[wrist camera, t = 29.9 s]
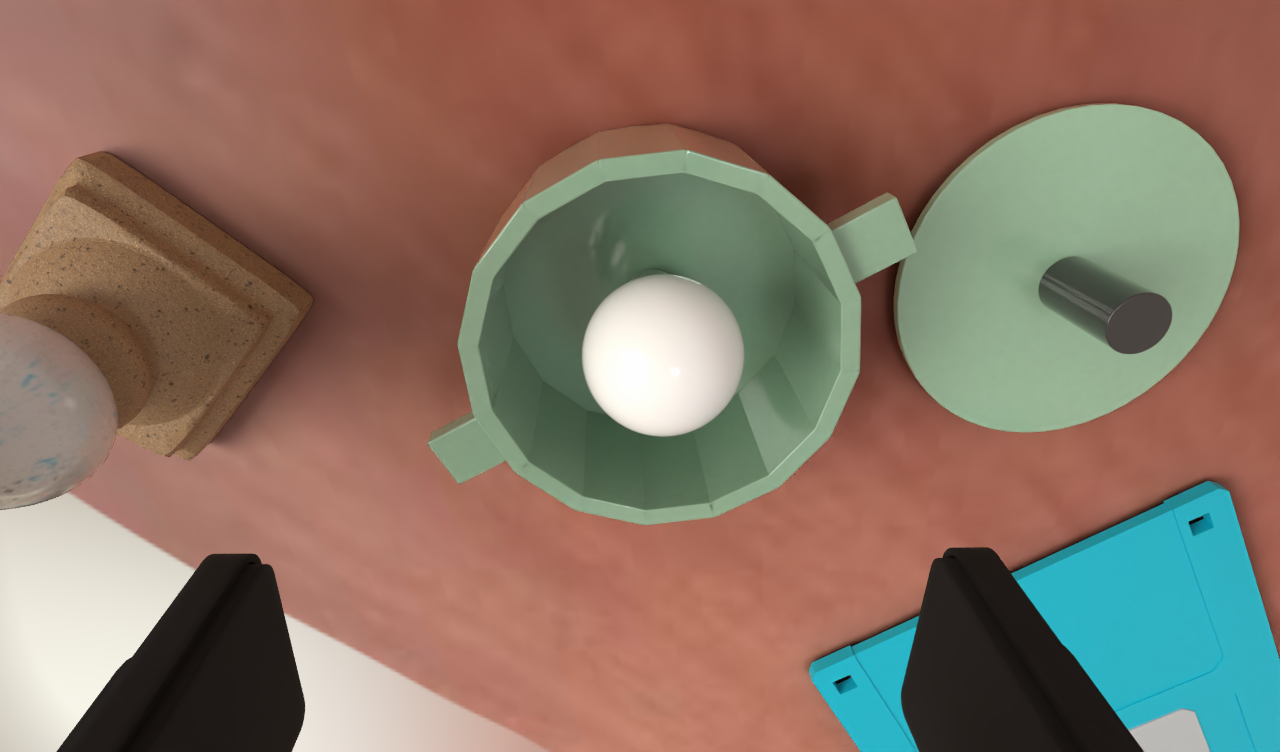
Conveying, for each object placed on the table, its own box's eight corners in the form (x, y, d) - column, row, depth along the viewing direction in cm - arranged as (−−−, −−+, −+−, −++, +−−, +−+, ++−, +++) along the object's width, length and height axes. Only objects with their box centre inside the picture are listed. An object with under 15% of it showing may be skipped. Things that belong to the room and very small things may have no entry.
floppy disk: (1213, 475, 43) (1227, 484, 42) (1300, 755, 54) (1312, 768, 53) (804, 663, 48) (808, 675, 47) (958, 887, 59) (964, 900, 58)
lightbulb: (739, 262, 36) (791, 351, 26) (678, 371, 38) (704, 491, 28) (621, 204, 35) (628, 275, 25) (564, 320, 37) (550, 428, 27)
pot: (379, 257, 36) (318, 320, 28) (779, 24, 32) (835, 23, 25) (550, 494, 42) (538, 600, 34) (903, 320, 38) (978, 394, 31)
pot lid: (839, 212, 36) (887, 250, 30) (1185, 29, 33) (1316, 30, 27) (949, 469, 42) (1007, 543, 36) (1247, 334, 40) (1363, 389, 34)
